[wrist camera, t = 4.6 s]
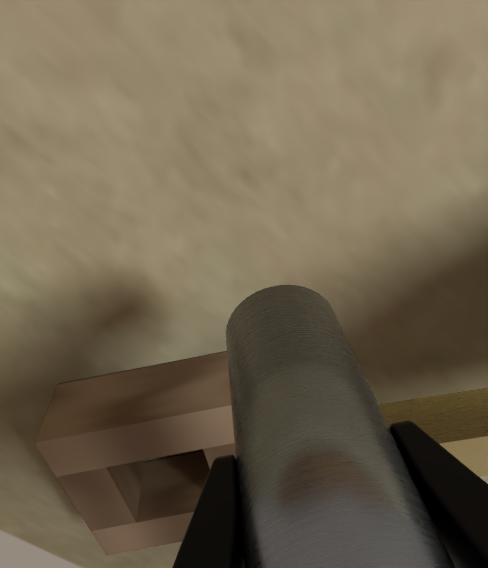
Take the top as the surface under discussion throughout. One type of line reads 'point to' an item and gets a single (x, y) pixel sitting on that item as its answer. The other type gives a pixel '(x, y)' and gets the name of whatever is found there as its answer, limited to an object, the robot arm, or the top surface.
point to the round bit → (316, 446)
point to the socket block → (139, 447)
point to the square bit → (450, 423)
